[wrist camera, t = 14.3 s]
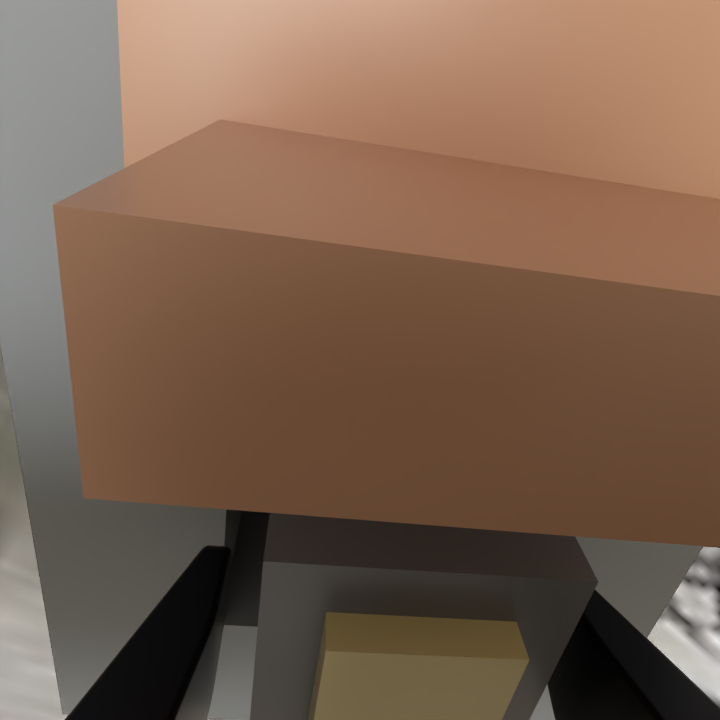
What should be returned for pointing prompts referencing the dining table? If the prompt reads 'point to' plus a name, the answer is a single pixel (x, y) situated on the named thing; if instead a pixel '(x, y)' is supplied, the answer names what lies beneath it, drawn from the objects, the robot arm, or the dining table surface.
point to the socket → (55, 400)
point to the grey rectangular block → (411, 620)
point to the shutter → (408, 265)
